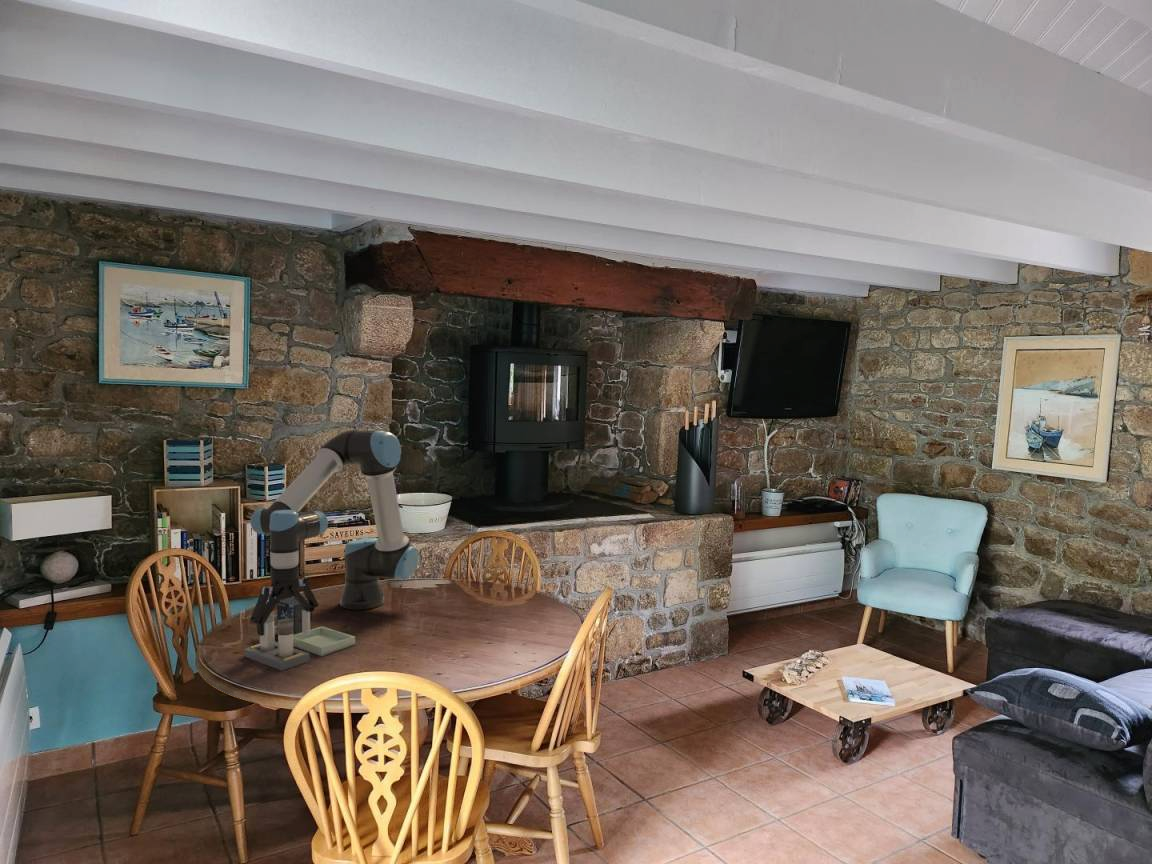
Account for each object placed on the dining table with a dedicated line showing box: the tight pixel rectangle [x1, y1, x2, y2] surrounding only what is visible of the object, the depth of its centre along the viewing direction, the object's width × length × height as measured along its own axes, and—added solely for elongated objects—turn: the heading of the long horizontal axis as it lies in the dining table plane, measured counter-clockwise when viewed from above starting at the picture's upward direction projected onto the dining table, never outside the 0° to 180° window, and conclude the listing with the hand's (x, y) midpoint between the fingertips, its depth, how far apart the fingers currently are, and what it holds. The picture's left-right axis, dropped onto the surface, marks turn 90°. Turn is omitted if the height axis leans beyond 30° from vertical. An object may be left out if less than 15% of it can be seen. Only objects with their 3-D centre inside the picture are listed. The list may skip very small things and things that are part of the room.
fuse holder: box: [243, 641, 311, 672], centre depth 222 cm, size 18×9×2 cm, turn 55°
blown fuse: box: [277, 619, 294, 659], centre depth 219 cm, size 4×4×12 cm
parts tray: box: [293, 626, 356, 657], centre depth 234 cm, size 16×12×2 cm
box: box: [276, 597, 308, 635], centre depth 244 cm, size 8×6×11 cm
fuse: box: [260, 612, 276, 652], centre depth 224 cm, size 4×4×12 cm
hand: (285, 639), depth 219 cm, fingers open, 13 cm apart
